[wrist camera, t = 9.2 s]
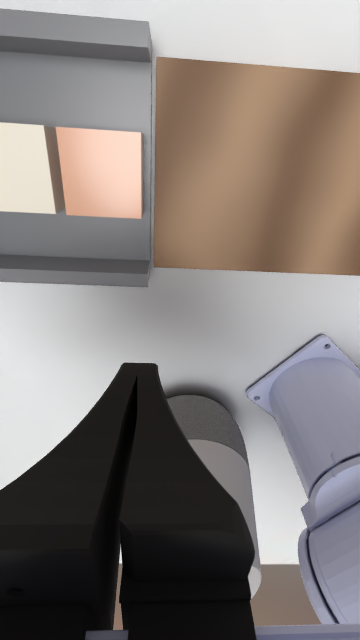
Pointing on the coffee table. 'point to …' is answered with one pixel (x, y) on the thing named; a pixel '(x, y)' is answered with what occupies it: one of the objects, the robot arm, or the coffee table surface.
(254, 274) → the coffee table surface
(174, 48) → the coffee table surface
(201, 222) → the brown wooden board
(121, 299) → the coffee table surface
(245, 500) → the smart speaker
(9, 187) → the cream tile
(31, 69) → the tray
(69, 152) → the terracotta tile
